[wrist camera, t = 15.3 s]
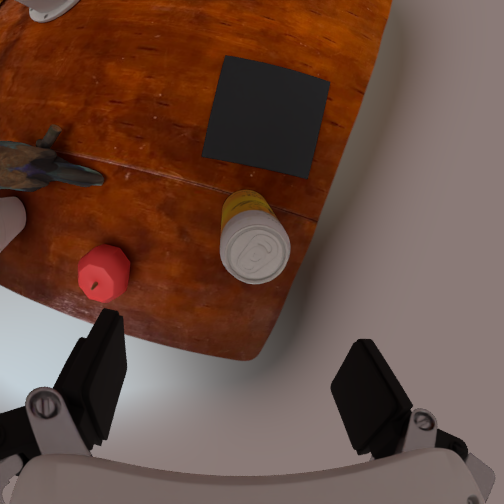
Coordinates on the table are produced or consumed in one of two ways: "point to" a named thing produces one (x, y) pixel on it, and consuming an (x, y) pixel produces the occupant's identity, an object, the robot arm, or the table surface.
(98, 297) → the apple
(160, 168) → the table surface
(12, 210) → the cup
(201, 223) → the table surface
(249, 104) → the mat
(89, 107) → the table surface
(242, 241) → the beer can
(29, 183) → the bird figurine
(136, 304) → the table surface
